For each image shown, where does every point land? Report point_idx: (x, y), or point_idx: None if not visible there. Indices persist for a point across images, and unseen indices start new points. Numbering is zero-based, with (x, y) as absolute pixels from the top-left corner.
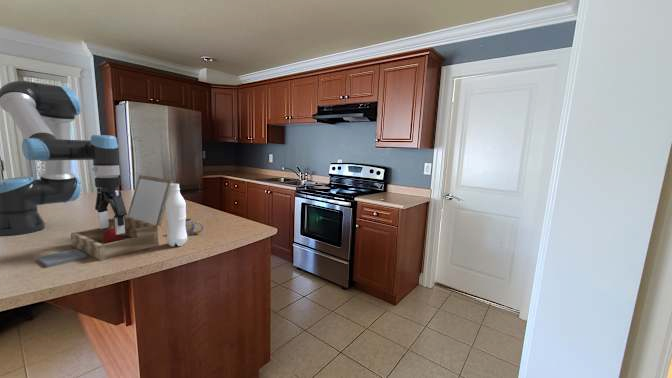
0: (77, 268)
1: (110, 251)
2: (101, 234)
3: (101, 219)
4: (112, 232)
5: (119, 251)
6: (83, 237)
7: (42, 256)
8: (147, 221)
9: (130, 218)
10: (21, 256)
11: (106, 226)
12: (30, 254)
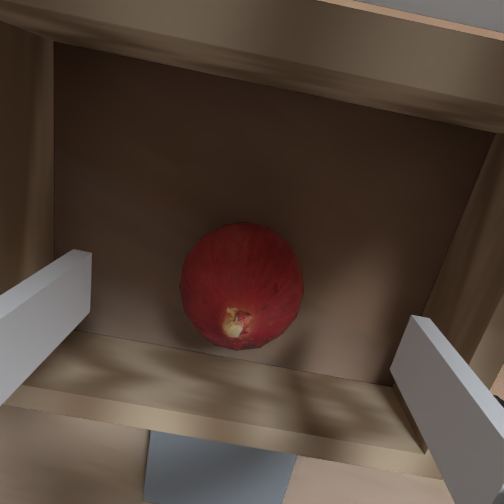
0: (397, 481)
1: None
2: (27, 225)
3: (34, 356)
4: (282, 329)
5: None
6: (161, 421)
7: (150, 490)
8: (474, 14)
9: None
10: (37, 486)
11: (86, 276)
12: (35, 465)
